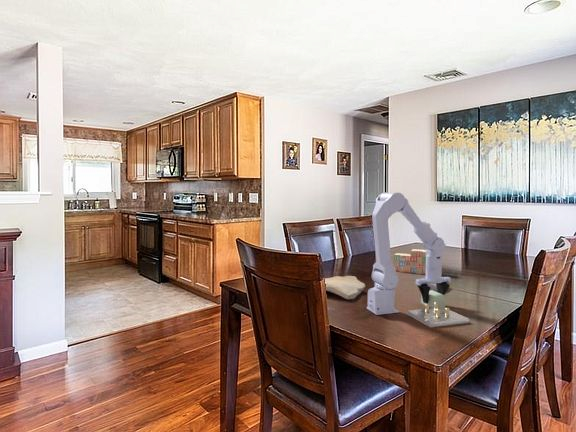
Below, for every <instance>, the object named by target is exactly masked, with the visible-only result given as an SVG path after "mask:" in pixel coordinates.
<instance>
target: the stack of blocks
mask: <svg viewBox="0 0 576 432" xmlns="http://www.w3.org/2000/svg"><path fill="white" fill-rule="evenodd" d="M393 265H394V267H395V269H396V272H402V273H408V274H410V273H411V274H417V275H418V274H419V275H426V249H417V248H415V249H411V250H410V254H409V253H401V252H400V253H398V252H395V254H393Z"/></svg>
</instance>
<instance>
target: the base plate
mask: <svg viewBox="0 0 576 432" xmlns="http://www.w3.org/2000/svg"><path fill="white" fill-rule="evenodd" d="M406 315H407V316H409V317H411V318H412V319H415V320H416V321H418V322H419V323H421V324H423V325H425V326H427V327H428V328H436V327H437V328H439V327H444V326H446V327H447V326H454V325H460V324H461V325H462V324H469V320H470V319H469V317H466V316H464V315H462V314H459V313H457V312H456V311H453V310H451V309H450V307H445V308H444V307H438V303H434V308H430V307H429V304H427V303H426V305H425V308H422V309H421V308H420V309H413V310H412V309H411V310H410V309H409V310H407V314H406Z"/></svg>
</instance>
